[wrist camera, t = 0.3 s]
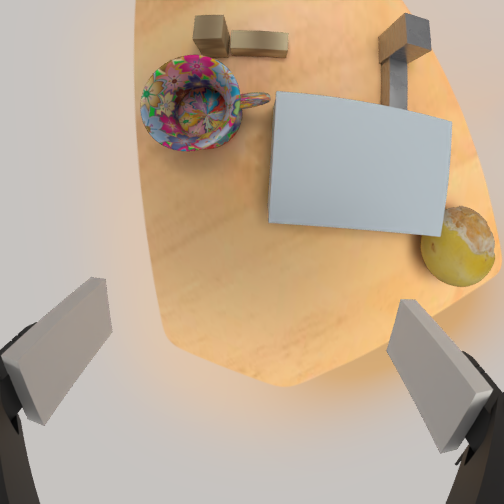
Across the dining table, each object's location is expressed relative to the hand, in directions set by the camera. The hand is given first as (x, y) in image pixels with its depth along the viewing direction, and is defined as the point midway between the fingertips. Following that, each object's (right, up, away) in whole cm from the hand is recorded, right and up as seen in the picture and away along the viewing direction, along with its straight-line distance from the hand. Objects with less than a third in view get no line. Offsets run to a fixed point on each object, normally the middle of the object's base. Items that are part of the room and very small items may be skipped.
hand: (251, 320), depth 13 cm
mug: (-4, +20, +23) cm, 30 cm away
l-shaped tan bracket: (-1, +28, +20) cm, 34 cm away
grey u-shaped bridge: (+12, +14, +24) cm, 30 cm away
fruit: (+27, +5, +26) cm, 38 cm away
